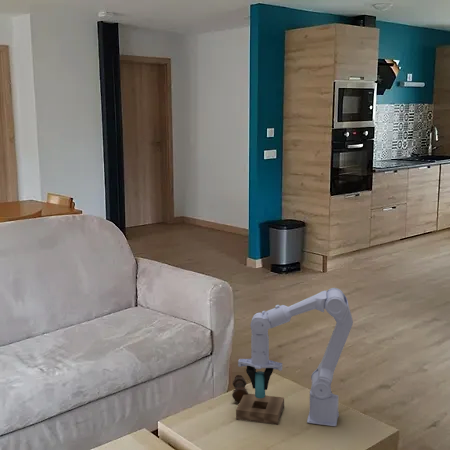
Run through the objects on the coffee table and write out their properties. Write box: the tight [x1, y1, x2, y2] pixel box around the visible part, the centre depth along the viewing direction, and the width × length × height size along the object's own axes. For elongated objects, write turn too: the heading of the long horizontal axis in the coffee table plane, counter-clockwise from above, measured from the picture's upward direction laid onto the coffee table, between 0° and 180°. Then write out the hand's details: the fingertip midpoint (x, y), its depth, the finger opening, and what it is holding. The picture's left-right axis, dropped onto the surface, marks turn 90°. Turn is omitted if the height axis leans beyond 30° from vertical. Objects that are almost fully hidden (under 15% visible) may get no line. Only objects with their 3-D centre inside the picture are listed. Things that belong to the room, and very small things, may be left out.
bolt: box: [231, 374, 249, 404], centre depth 214 cm, size 6×5×15 cm
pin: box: [254, 371, 266, 398], centre depth 197 cm, size 3×3×8 cm
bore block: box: [235, 393, 285, 425], centre depth 200 cm, size 14×12×4 cm
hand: (260, 387), depth 197 cm, fingers closed on pin, 3 cm apart
